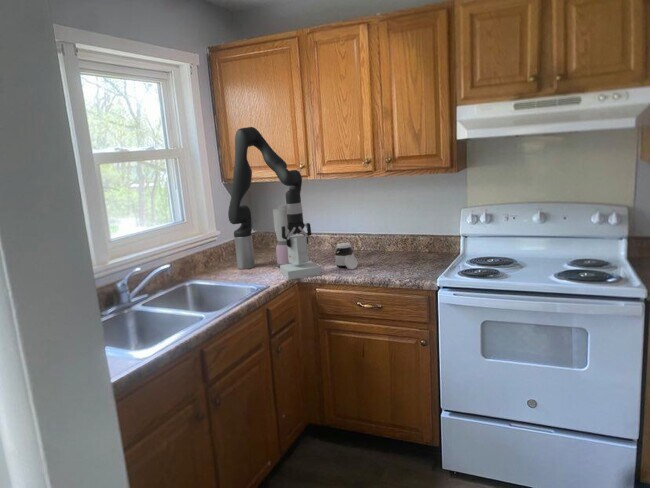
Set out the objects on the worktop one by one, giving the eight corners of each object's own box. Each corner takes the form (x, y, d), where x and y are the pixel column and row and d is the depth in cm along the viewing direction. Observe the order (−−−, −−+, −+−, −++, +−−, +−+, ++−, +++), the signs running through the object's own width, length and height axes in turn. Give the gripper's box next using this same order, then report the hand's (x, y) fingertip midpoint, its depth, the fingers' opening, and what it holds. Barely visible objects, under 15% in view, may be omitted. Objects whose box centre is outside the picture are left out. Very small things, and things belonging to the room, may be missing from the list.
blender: (274, 269, 254) (267, 207, 248) (281, 263, 265) (275, 204, 259) (303, 268, 250) (297, 206, 244) (309, 262, 261) (304, 203, 256)
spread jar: (342, 264, 252) (341, 242, 250) (362, 265, 246) (361, 242, 244) (332, 270, 241) (330, 246, 239) (352, 270, 236) (351, 247, 234)
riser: (280, 273, 244) (279, 265, 243) (311, 268, 248) (310, 260, 248) (288, 280, 229) (287, 271, 228) (321, 274, 233) (320, 266, 233)
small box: (308, 262, 237) (306, 235, 234) (298, 264, 233) (296, 238, 230) (298, 260, 243) (296, 234, 240) (288, 262, 239) (286, 236, 236)
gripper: (306, 210, 239) (309, 242, 242) (278, 213, 234) (281, 246, 237) (311, 211, 232) (314, 245, 235) (281, 214, 227) (285, 249, 230)
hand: (297, 245), depth 236 cm, fingers closed on small box, 8 cm apart
